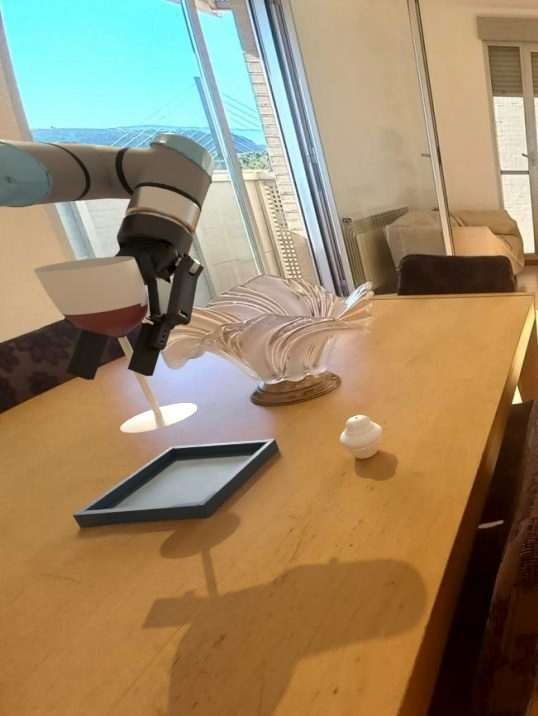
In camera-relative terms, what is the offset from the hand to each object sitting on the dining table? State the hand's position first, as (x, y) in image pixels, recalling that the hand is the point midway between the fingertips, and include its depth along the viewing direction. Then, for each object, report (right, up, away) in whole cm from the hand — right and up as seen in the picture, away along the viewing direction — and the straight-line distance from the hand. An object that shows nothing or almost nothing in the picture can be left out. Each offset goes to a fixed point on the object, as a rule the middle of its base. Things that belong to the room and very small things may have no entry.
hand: (110, 374), depth 61 cm
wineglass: (0, -7, +7) cm, 9 cm away
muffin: (+24, -14, +17) cm, 32 cm away
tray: (0, -17, +11) cm, 20 cm away
